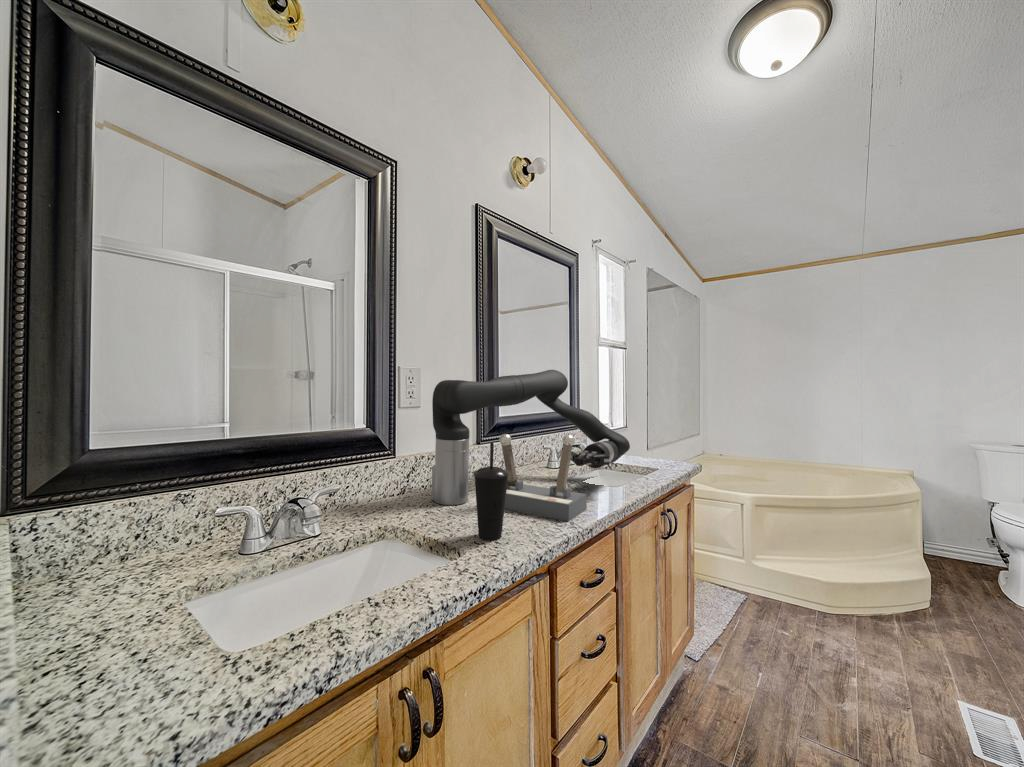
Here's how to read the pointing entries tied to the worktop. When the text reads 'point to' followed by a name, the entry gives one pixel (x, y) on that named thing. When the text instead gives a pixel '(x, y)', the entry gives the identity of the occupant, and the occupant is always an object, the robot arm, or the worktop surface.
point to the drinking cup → (490, 499)
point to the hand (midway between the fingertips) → (578, 462)
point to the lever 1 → (508, 458)
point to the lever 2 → (564, 463)
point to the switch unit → (545, 501)
